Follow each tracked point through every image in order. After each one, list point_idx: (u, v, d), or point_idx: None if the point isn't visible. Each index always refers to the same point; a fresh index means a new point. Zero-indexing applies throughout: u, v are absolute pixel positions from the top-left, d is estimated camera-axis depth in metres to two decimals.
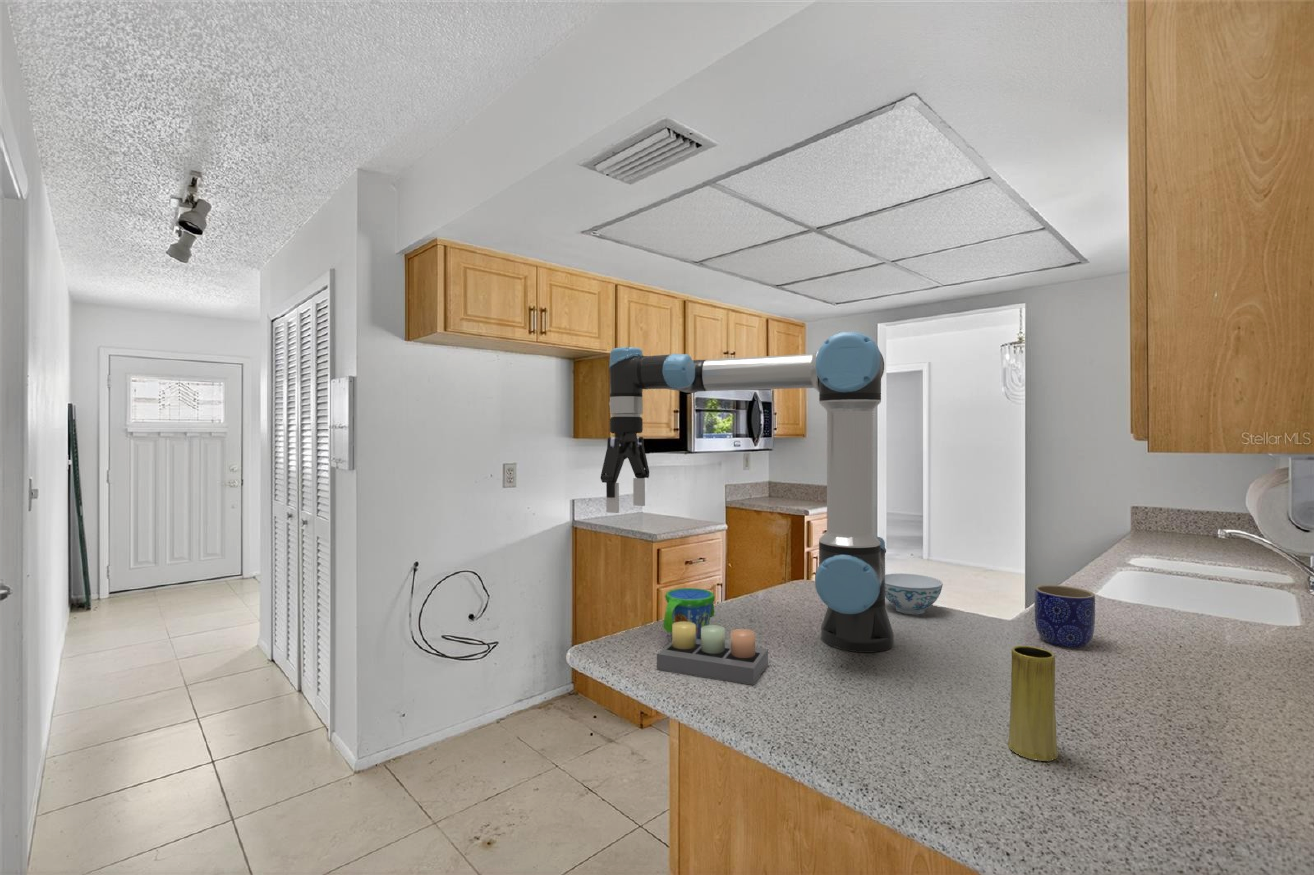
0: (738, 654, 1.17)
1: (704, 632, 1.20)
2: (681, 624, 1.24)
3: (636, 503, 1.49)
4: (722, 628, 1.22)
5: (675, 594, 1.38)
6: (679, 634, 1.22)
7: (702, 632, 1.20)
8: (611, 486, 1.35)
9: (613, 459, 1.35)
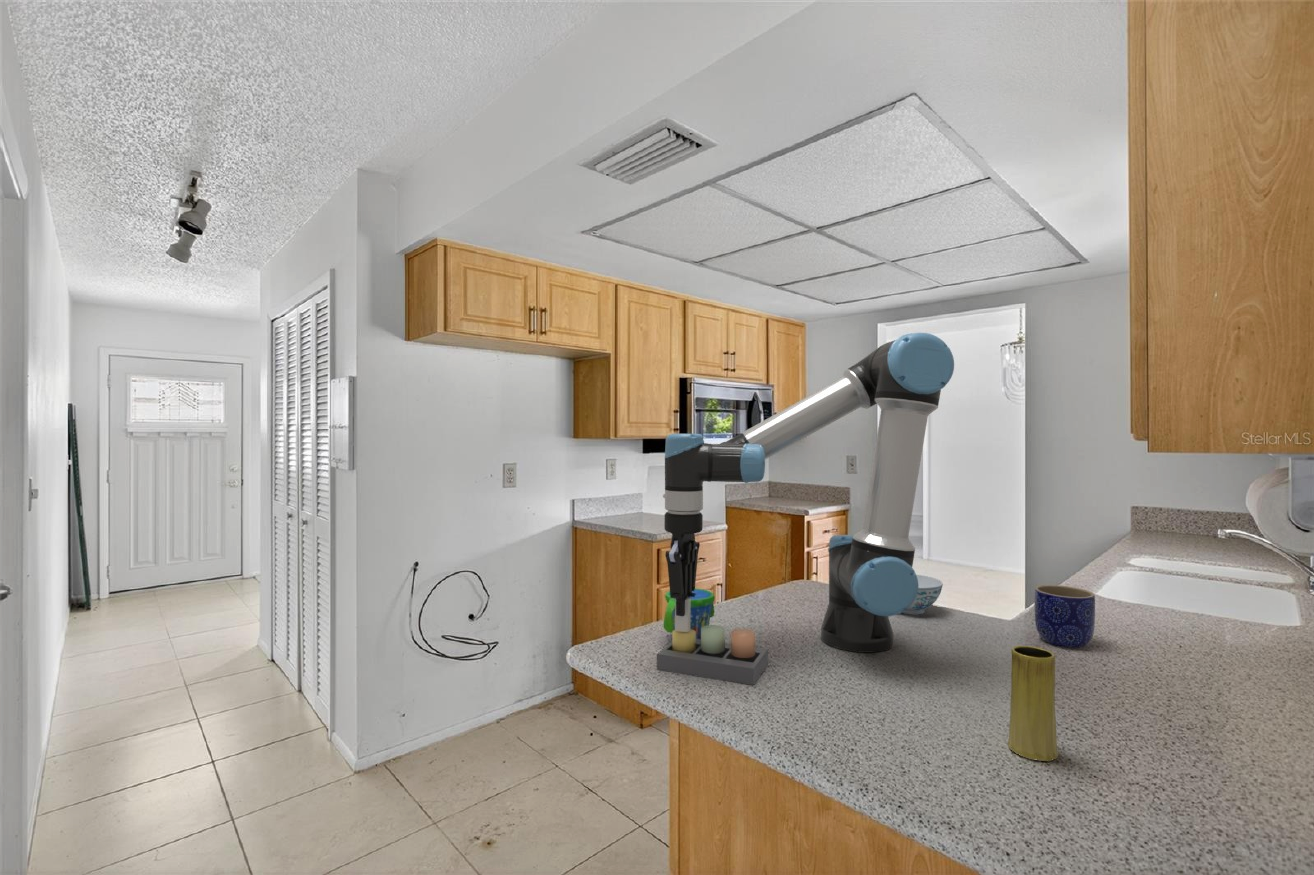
0: (738, 654, 1.17)
1: (704, 632, 1.20)
2: None
3: None
4: (722, 628, 1.22)
5: None
6: (679, 641, 1.22)
7: (702, 632, 1.20)
8: (681, 603, 1.22)
9: (679, 578, 1.19)
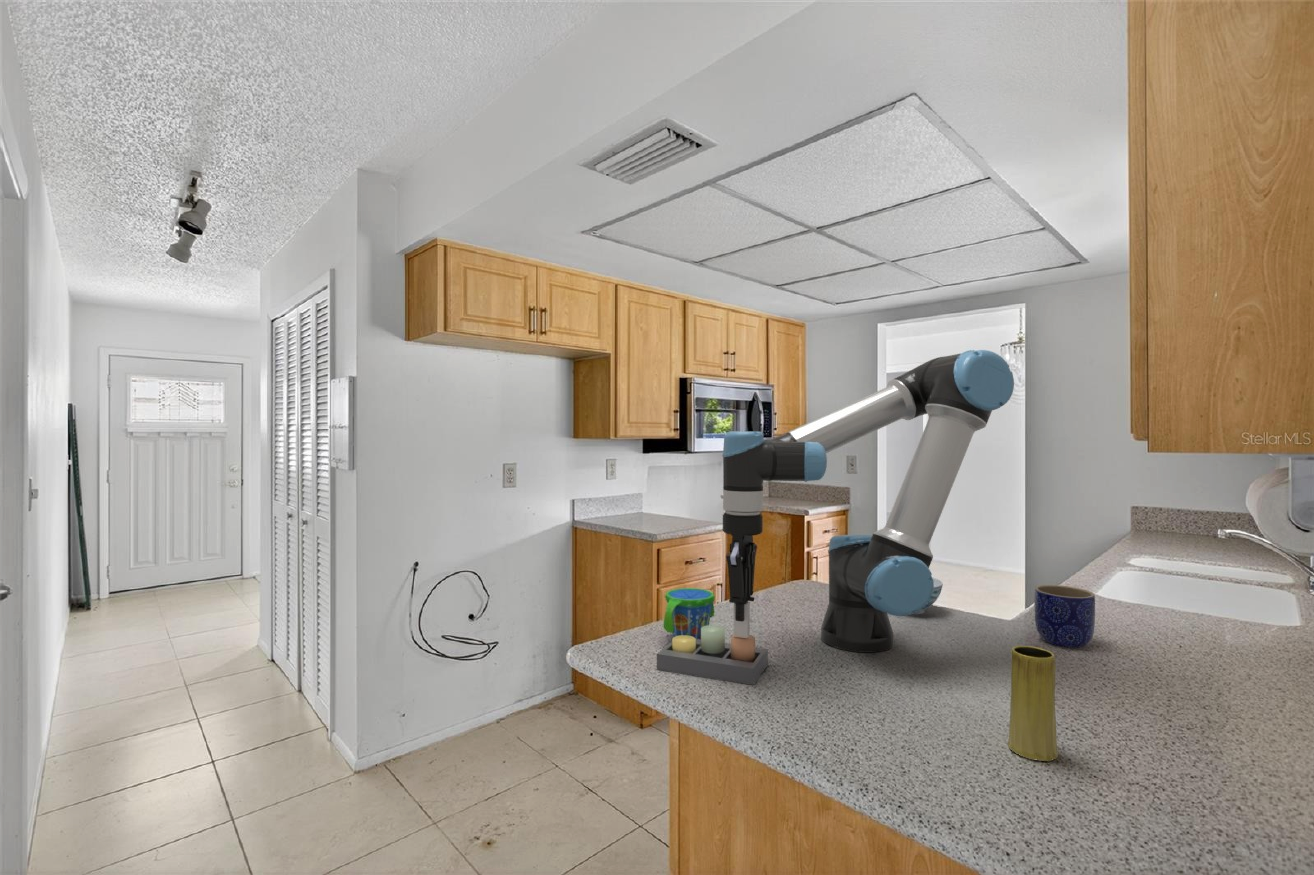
0: (738, 659, 1.17)
1: (704, 632, 1.20)
2: (681, 638, 1.24)
3: None
4: (722, 628, 1.22)
5: (675, 594, 1.38)
6: (679, 648, 1.22)
7: (702, 632, 1.20)
8: (741, 608, 1.17)
9: (740, 582, 1.14)
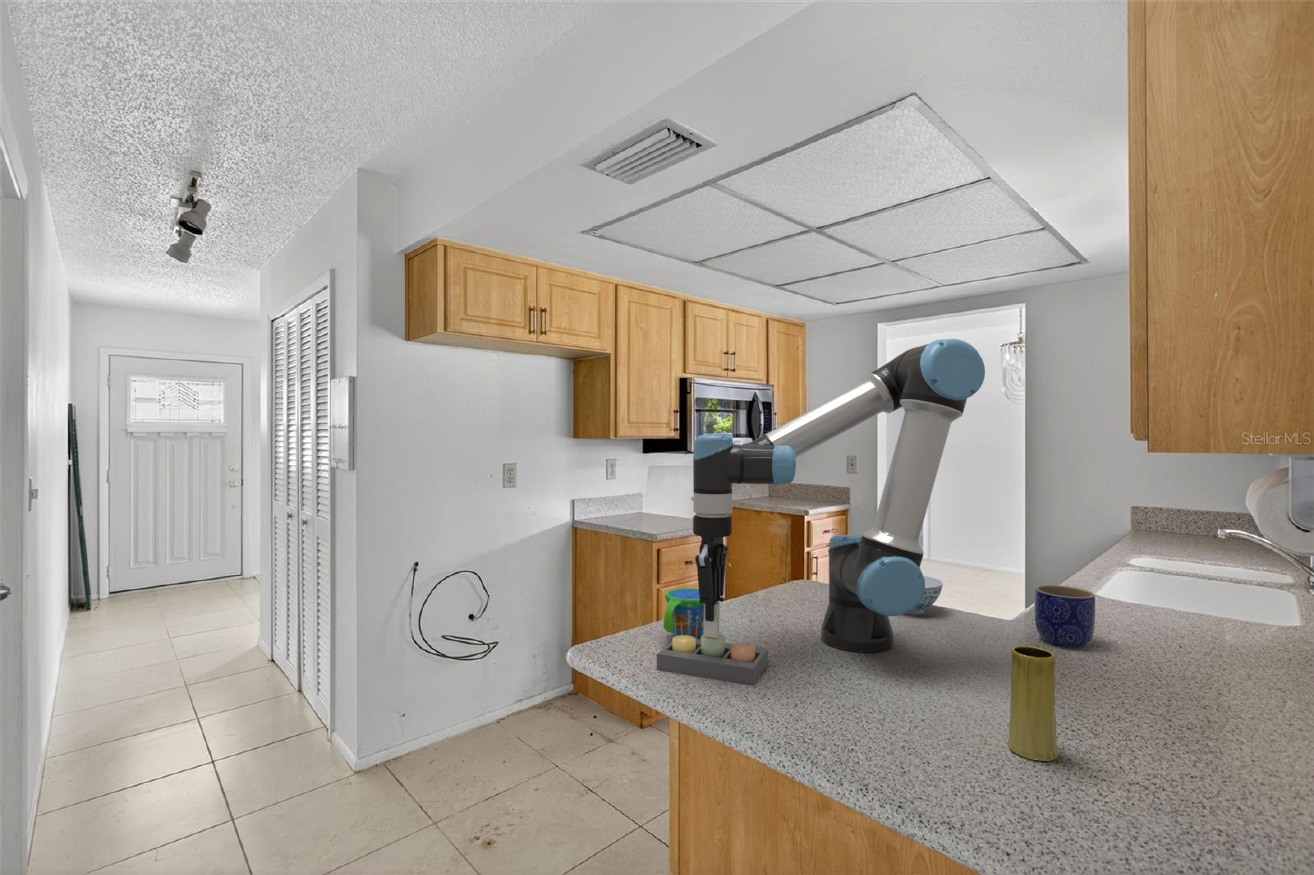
0: None
1: (704, 641, 1.20)
2: (681, 638, 1.24)
3: None
4: (722, 637, 1.22)
5: (675, 594, 1.38)
6: (679, 648, 1.22)
7: (702, 641, 1.21)
8: (711, 608, 1.19)
9: (709, 582, 1.17)
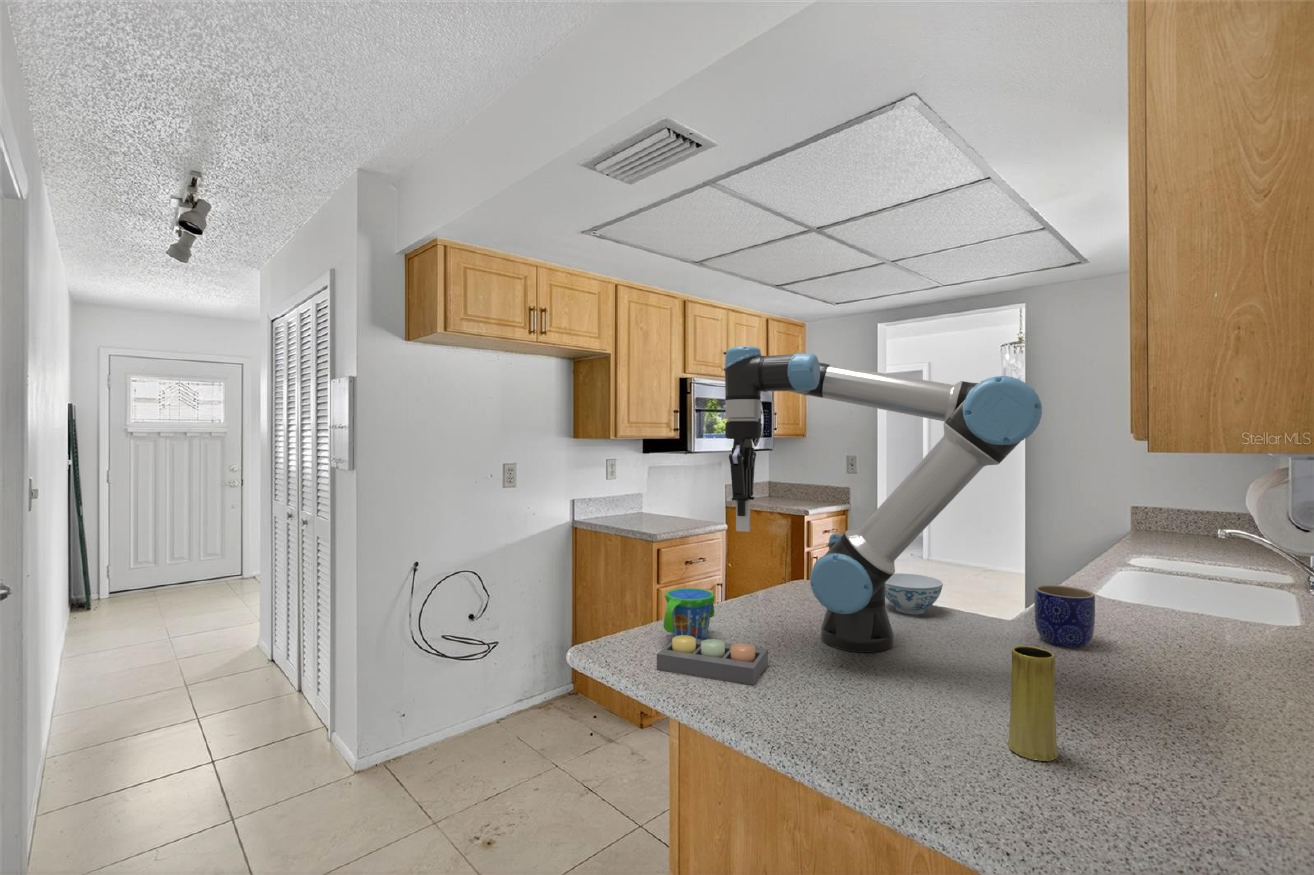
0: None
1: (704, 646, 1.20)
2: (681, 638, 1.24)
3: None
4: (722, 642, 1.22)
5: (675, 594, 1.38)
6: (679, 648, 1.22)
7: (702, 646, 1.21)
8: (743, 504, 1.32)
9: (741, 478, 1.29)
